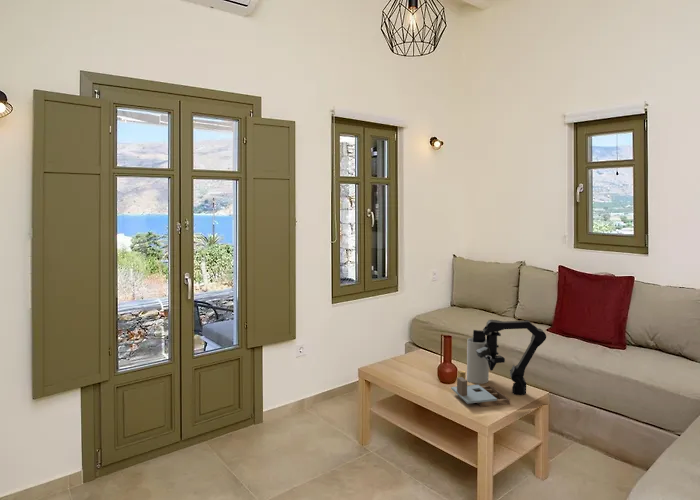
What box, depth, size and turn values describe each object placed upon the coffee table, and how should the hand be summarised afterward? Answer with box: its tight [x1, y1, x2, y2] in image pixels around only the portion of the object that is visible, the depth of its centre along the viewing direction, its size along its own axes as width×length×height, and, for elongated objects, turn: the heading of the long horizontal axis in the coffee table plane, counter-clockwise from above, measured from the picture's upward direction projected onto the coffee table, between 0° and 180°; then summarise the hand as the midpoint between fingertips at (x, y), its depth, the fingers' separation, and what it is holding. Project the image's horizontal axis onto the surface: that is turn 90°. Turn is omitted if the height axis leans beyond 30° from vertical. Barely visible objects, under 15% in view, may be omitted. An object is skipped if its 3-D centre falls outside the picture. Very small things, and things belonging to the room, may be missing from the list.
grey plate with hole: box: [450, 376, 497, 404], centre depth 255 cm, size 16×20×9 cm
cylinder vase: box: [466, 337, 490, 385], centre depth 283 cm, size 12×12×25 cm
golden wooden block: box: [457, 369, 467, 380], centre depth 273 cm, size 3×3×10 cm
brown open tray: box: [474, 385, 511, 408], centre depth 257 cm, size 16×20×4 cm
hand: (491, 370), depth 265 cm, fingers closed
